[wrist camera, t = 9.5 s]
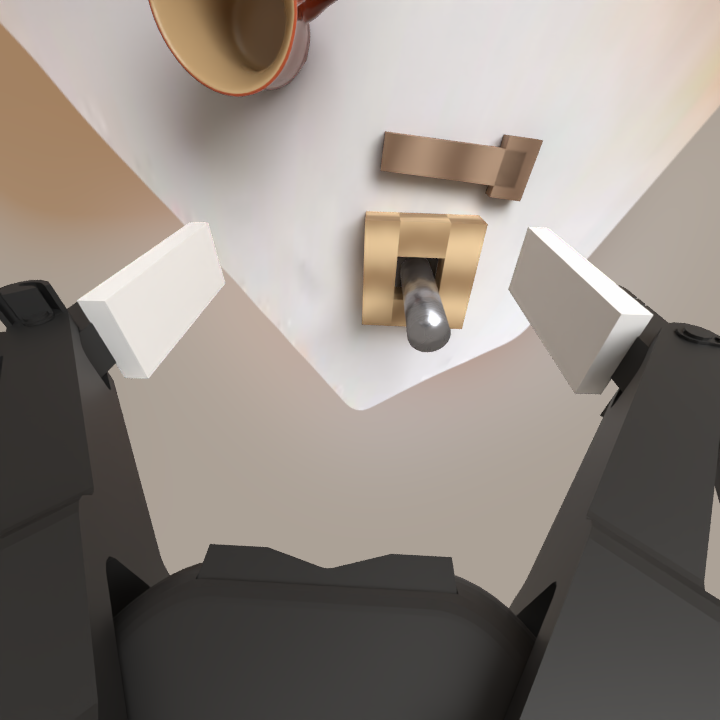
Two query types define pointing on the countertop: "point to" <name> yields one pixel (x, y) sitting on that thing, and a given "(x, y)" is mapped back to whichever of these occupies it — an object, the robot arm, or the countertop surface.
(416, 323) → the pin
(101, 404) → the robot arm
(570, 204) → the countertop surface
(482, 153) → the bar
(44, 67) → the countertop surface
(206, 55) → the mug
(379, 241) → the socket block
